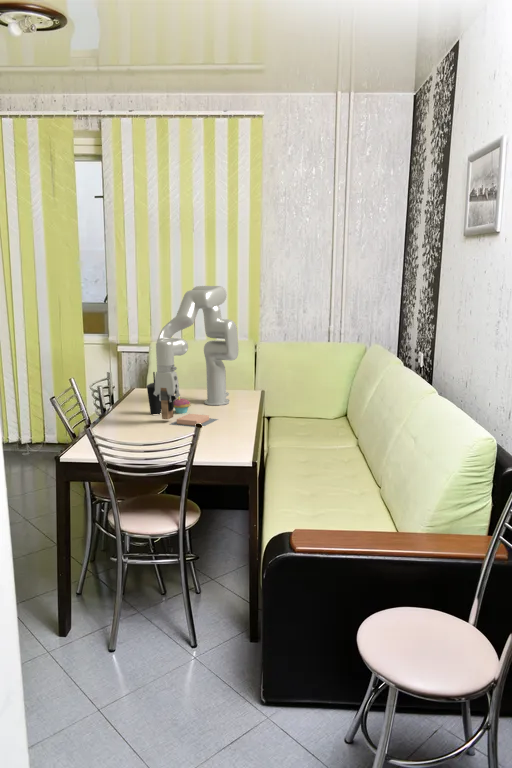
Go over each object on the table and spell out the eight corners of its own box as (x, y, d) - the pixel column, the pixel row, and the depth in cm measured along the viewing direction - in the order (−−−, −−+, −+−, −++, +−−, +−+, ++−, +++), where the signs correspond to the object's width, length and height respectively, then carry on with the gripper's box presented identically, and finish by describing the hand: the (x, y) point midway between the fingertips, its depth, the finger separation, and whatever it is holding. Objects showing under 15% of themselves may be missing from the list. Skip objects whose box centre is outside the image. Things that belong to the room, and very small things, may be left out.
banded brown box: (167, 416, 277) (166, 385, 274) (173, 417, 276) (172, 386, 273) (161, 418, 273) (160, 387, 270) (167, 419, 271) (166, 388, 269)
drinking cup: (161, 411, 297) (159, 370, 294) (165, 414, 290) (163, 372, 287) (146, 412, 295) (143, 371, 291) (149, 416, 288) (147, 373, 284)
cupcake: (181, 416, 287) (180, 390, 284) (168, 414, 292) (167, 389, 289) (194, 412, 293) (193, 387, 291) (181, 410, 298) (180, 386, 296)
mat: (187, 417, 284) (187, 416, 284) (218, 420, 278) (218, 419, 277) (168, 425, 270) (168, 424, 270) (200, 429, 263) (200, 427, 263)
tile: (189, 413, 280) (176, 419, 270) (209, 415, 275) (196, 421, 266) (189, 418, 280) (176, 424, 270) (209, 420, 276) (196, 426, 266)
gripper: (186, 368, 270) (187, 409, 274) (154, 366, 277) (156, 406, 280) (177, 371, 263) (178, 413, 267) (145, 369, 270) (147, 410, 274)
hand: (167, 409), depth 274 cm, fingers closed on banded brown box, 3 cm apart
